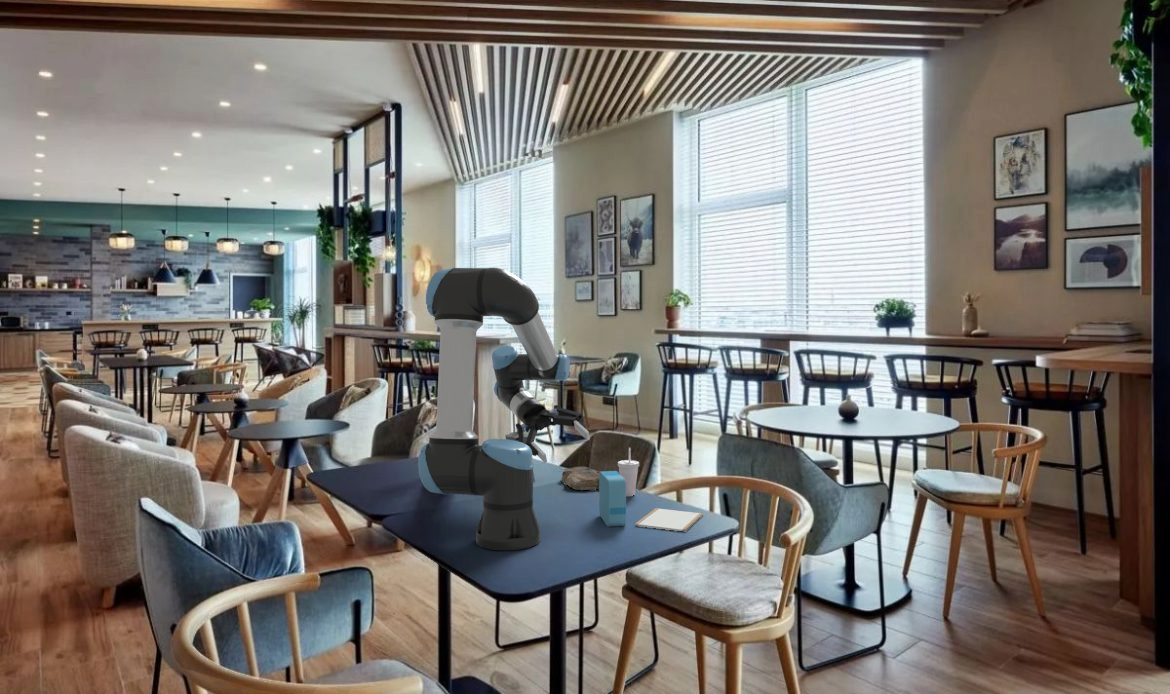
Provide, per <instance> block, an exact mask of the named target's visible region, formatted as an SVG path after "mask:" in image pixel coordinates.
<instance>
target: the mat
mask: <svg viewBox="0 0 1170 694" xmlns="http://www.w3.org/2000/svg"><path fill="white" fill-rule="evenodd" d="M702 517H704V513H703V512H691V511H683V510H682V511H681V510H673V509H665V508H659V507H656V508H655V507H654V509H653V510H651V511H650V512H649V513H647V514H646V515H645V516H643V517H642V518H641V519H639V520H638V521H636V522H635V523H634V527H637V526H638V528H645V527H647V528H646V529H653V528H656V529H655V530H661V529H665V530H664V531H669V530H674V531H673V532H677V531H686V530H688V529H689V528H690V527H691V526H692V525H693V524H694V523H695V522H696V521H697V520H698V519H699V518H700V519H702ZM700 519H699V520H700ZM699 520H698V521H699ZM698 521H697V522H698ZM697 522H696V523H697ZM696 523H695V524H696ZM695 524H694V525H695ZM694 525H693V526H694ZM693 526H692V527H693ZM692 527H691V528H692ZM691 528H690V529H691ZM690 529H689V530H690ZM689 530H688V531H689ZM686 532H687V531H686Z"/></svg>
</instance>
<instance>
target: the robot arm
mask: <svg viewBox="0 0 1170 694" xmlns="http://www.w3.org/2000/svg"><path fill="white" fill-rule="evenodd" d="M537 298H538V297H536V293H534V291H533V290H532V288H530V286H529V285H528V284H527V283H526V282H525V281H524V280H523V279H521V278H520V277H519V276H517V275H516V274H514V273H512V272H510V271H508V270H507V269H504V268H498V267H452V268H442V269H439V270H437V271H436V272H435V273H434V274H433V275H432V276H431V277H430V280H429V282H428V285H427V288H426V292H425V304H426V305H427V306H426V309H427V312H428V313H429V315H431V316H432V317H434V323H435V325H436V327H438V328H439V329H440V330H439V331H440V333H439V334H440V335H439V338H440V339H439V357H438V378H437V379H438V381H437V401H436V421H435V422H436V423H435V424H436V425H435V430H434V431H433V432H432V433H431V434H430V435H429V436H428V438H429V439H428V442H427V443H425V444H423V445H422V447H421V448H420V452H419V454H418V459H417V461H418V462H417V466H418V474H419V478H420V480H421V483H422V484H423V487H424V488H425V489H426V490H427V491H428V492H430V493H434V494H442V495H449V494H450V495H463V496H464V495H466V496H468V495H469V496H481V497H482V501H483V502H482V503H483V504H482V505H483V507H482V512H481V514H480V515H481V516H480V519H479V522H478V525H477V528H476V532H475V543H476V545H477V546H479V547H480V548H483V549H486V550H493V551H517V550H524V549H528V548H532V547H534V546H536V545H538V544H539V543H540V542H541V540H542V538H541V537H542V532H541V527H540V523H539V521H538V518H537V516H536V512H535V509H534V482H533V472H534V462H533V456H534V457H536V456H537V457H538V458H539V459H540V460H541V461H542V462H543V463H544V464H546V463H547V462H548V459H547V455H546V453H545V452H544V451H543V450H542V448H541V447H539V445H537V444H536V443H535V440H536V439H535V438H536V436H537V435H538V431H542V430H544V429H546V428H548V427H552V426H554V427H555V426H556V425H557V426H566V427H567V426H568V427H574V430H575V431H577V433H579V434H580V435H581V436H582V437H583V438H584V439H585V440H586V441H590V439H591V437H590V432H589V430H587V428H586V424H585V423H584V422H585V421H584V415H583V413H581V412H577V411H573V410H569V409H567V408H563V407H561V406H559V405H557V404H555V405H553V408H552V409H547V408H546V407H545V406H544V405H543V404H542V403H541V402H540V401H539V400H538V399H537V398H536V397H535V396H533V394H532V393H530V392H529V391H528V390H527V389H526V387H525V386H524V381H544V382H545V381H549V382H550V381H551V382H556V381H557V382H558V381H566V380H567V379H568V378H569V377H570V373H571V372H570V371H571V361H570V358H569V355H567V354H561V353H559V354H558V353H557V351H556V349H555V346H554V344H553V343H552V340H551V338H550V335H549V333H548V330H547V328H546V326H545V324H544V322H543V319H542V317H541V315H540V313H539V310H540V304H539V299H537ZM484 317H500V318H503V320H504V321H505V322H506V323H507V324H508V325H511V327H512V329H513V331H514V332H515V335H516V336H517V338H518V340H519V342H520V343H521V345H522V347H523V348H524V351H525V353H519V352H518V350H517V348H516V347H515V346H512V345H506V344H504V345H501V346H498V347H497V348H495V349H494V350H493V351H492V353H491V360H492V368H493V370H494V376H495V380H496V382H495V384H494V387H493V391H494V395H495V396H496V397H497V399H498V400H499V401H500V403H503V405H505V406H506V408H507V409H509V411H510V412H512V413H513V415H514V416H515V417H517V419H519V421H520V422H522V424H520V423H516V424H515V428H516V432H517V433H518V438H519V442H518V441H514V440H507V439H506V438H489V439H486V440H484V441H483V442H482V445H479V436H478V435H477V434H476V433H475V432H474V430H473V429H474V427H473V426H474V425H473V424H474V421H473V420H474V399H475V397H474V396H475V376H476V375H475V374H476V372H475V371H476V353H477V352H476V351H477V349H476V348H477V332H478V331H479V329H480V328H481V327H482V326H483V325H484ZM525 429H527V430H529V432H528V433H529V434H528V437H527V441H526V443H525V444H524V434H523V433H524V431H525ZM525 432H526V431H525Z"/></svg>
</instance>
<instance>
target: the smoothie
mask: <svg viewBox="0 0 1170 694" xmlns="http://www.w3.org/2000/svg"><path fill="white" fill-rule="evenodd" d="M631 450H632V449H631V447H628V459H625V460H623V459H622V460H620V461H618V462H617V467H618V473H619V474H620V475H621V476H622V477H623V478H624V479H625V482H626V497H634V496H636V487H637V481H638V472H639V467H640V461H637V460H634V459H633V460H632V459H631V458H632V457H631V456H632V455H631V454H632V453H631ZM633 495H634V496H633Z"/></svg>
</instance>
